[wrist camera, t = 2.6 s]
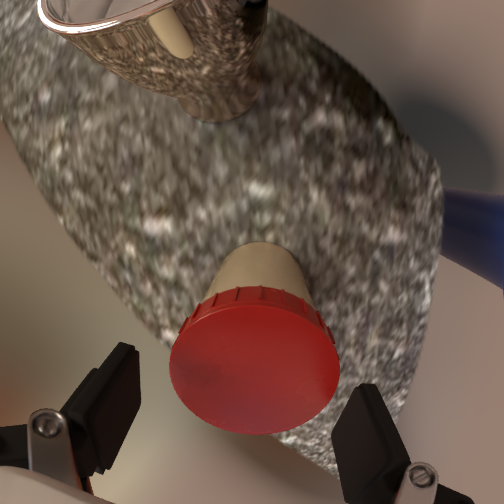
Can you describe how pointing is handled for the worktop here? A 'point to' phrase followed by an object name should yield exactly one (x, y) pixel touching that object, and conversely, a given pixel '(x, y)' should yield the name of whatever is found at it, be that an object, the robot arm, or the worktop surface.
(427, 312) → the worktop surface
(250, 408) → the red lid
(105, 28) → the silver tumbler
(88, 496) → the robot arm
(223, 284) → the jar
